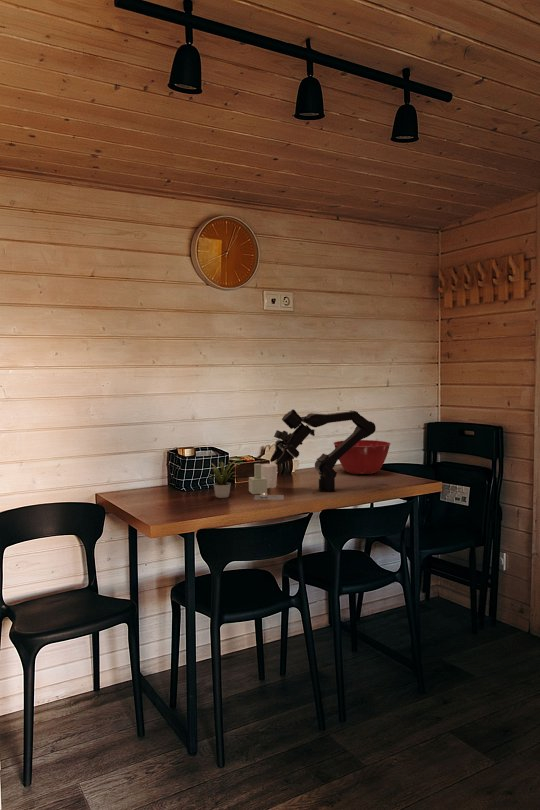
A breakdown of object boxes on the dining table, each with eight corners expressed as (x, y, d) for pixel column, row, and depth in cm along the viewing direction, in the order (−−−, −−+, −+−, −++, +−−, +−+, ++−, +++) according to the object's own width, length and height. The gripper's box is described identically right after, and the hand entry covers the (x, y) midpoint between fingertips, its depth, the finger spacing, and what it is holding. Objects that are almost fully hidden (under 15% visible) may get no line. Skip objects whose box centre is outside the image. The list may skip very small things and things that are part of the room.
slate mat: (283, 497, 264) (283, 495, 264) (283, 502, 255) (283, 499, 255) (254, 497, 264) (254, 495, 264) (253, 502, 255) (253, 499, 255)
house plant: (246, 495, 268) (246, 457, 267) (238, 502, 254) (237, 462, 253) (213, 494, 271) (213, 456, 270) (204, 501, 257) (203, 461, 256)
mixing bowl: (328, 468, 334) (328, 439, 333) (381, 467, 337) (381, 438, 336) (340, 478, 306) (340, 446, 305) (397, 477, 309) (397, 445, 308)
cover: (263, 492, 274) (263, 462, 273) (267, 495, 268) (266, 464, 267) (248, 493, 272) (248, 463, 272) (252, 496, 266) (252, 465, 265)
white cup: (275, 489, 281) (275, 466, 281) (258, 488, 283) (257, 466, 282) (278, 485, 289) (278, 463, 288) (261, 485, 291) (261, 463, 290)
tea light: (267, 496, 261) (267, 492, 260) (267, 498, 258) (267, 494, 257) (260, 496, 261) (260, 492, 261) (260, 498, 258) (260, 494, 258)
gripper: (279, 421, 280) (255, 447, 278) (292, 425, 263) (266, 453, 260) (296, 438, 283) (272, 464, 281) (310, 443, 265) (284, 471, 263)
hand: (273, 462), depth 271 cm, fingers open, 9 cm apart
